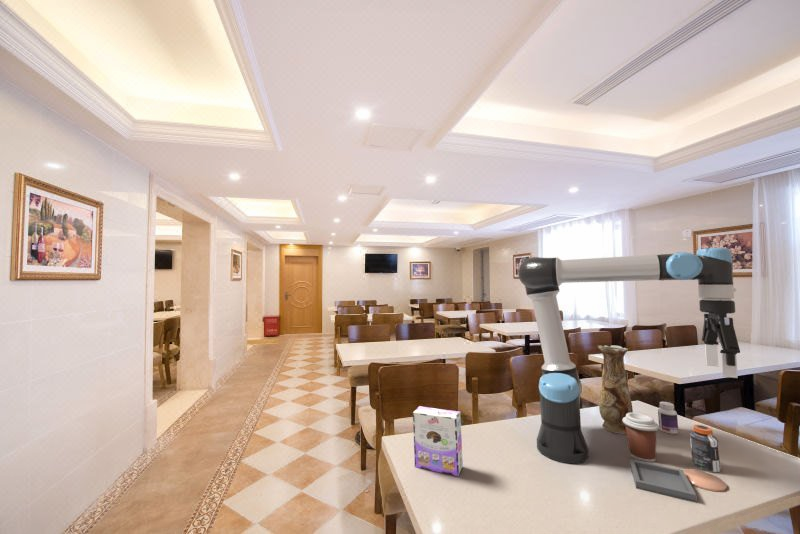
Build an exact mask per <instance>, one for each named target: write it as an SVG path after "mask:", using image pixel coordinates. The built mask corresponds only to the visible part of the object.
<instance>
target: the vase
mask: <svg viewBox="0 0 800 534" xmlns="http://www.w3.org/2000/svg"><path fill="white" fill-rule="evenodd" d="M597 347H598V349H599V350H600V352H601V354H602V356H603V365H602V366H603V367H602V375H601V383H600V391H599V399H598V406H599V407H598V409H599V414H600V418H601V419H602V420H603V421H604V422H603V423H602V424H601V426H602V427H603V428H604V430H607V431H609V432H612V433H616V434H623V435H624V434H626V435H627V432H626V426H625V424H624V423H623V421H622V419H623V418H624V417H626V414H627V413H630V412H634V411H633V404H632V398H631V394H630V389H629V383H628V379H627V375H626V369H625V362H624V361H625V360H624V357H625V355H626V354H627V352H628V351H629V348H626V347H622V346H620V345H610V346H608V345H604V346H603V345H601V344H600V345H597Z"/></svg>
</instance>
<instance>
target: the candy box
mask: <svg viewBox="0 0 800 534" xmlns="http://www.w3.org/2000/svg"><path fill="white" fill-rule="evenodd" d="M461 417H462V416H461V411H456V410H450V409H443V408H435V407H429V406H421V405H419V406H418V407H417V408H416V409H415V410H414V411H413V412H412V419H413V420H412V425H413V427H412V428H413V450H414V451H413V452H414V467H415V468H418V469H422V470H427V471H433V472H436V473H441V474H445V475H450V476H455V477H460V474H461V471H462V470H463V468H464V464H463V445H462V442H463V440H462V439H463V438H462V423H461V422H462V421H461V420H462V418H461Z"/></svg>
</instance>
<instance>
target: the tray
mask: <svg viewBox="0 0 800 534" xmlns="http://www.w3.org/2000/svg"><path fill="white" fill-rule="evenodd" d="M629 466H630V470H631V474H632V477H633V482H634V485H635V489H639V490H642V491H646V492H651V493H655V494H659V495H662V496H667V497H672V498H674V499H675V498H676V499H679V500H684V501H688V502H693V503H696V504H697V503H698V498H697V494H696V492H695V490H694V488H693V485H692V484H690V483H689V481H688V479H687V477H686V475H685V473H684V471H683V469H681V468H680V469H679V468H675V467H670V466H664V465H660V464H655V463H652V462H651V463H650V462H647V461H642V460H635V459H629Z"/></svg>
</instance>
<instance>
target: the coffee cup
mask: <svg viewBox="0 0 800 534" xmlns="http://www.w3.org/2000/svg"><path fill="white" fill-rule="evenodd" d="M622 421H623V423H624V424H625V426H626V432H627V434H626V437H627V442H628V443H627V444H628V450H629V455H630V456H631V457H633V458H634V459H637V460H638V461H641V462H646V463H650V462H651V463H652V462H655V461H656V459H657V458H656V455H657V454H656V451H657V450H656V449H657V431H659V430H660V429H659V423H657V422H655V419H654V418H653V417H652V416H650V415H648V414H645V413H641V412H634V411H633V412H630V413H627V414H626V417H624V418H623V419H622Z"/></svg>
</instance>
